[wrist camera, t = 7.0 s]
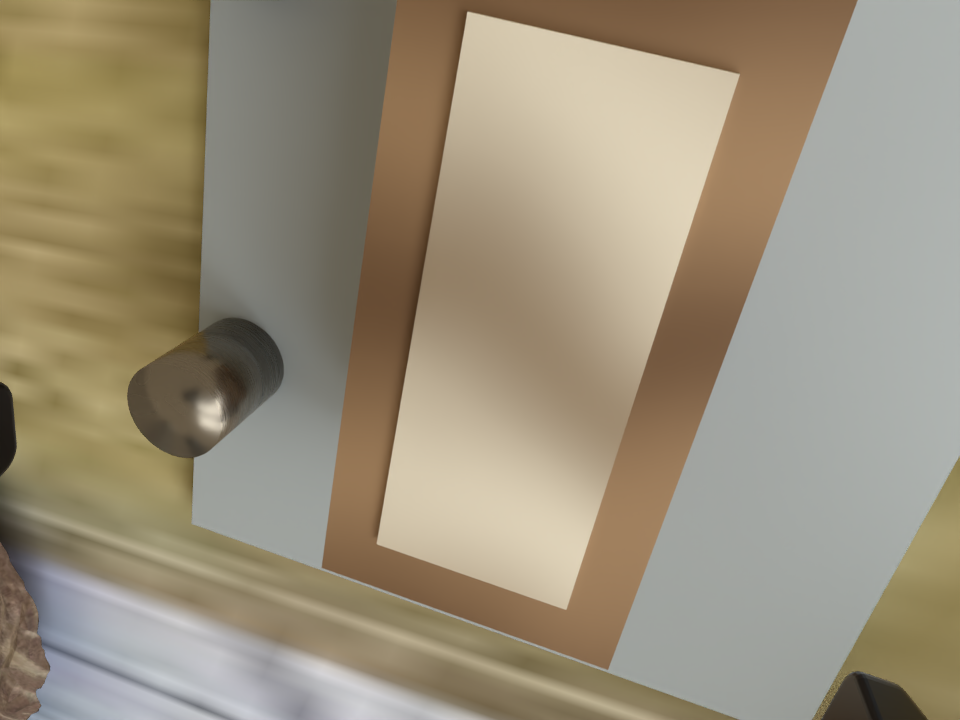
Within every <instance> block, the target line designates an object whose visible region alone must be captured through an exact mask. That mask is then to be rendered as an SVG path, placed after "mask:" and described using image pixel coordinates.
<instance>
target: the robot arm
mask: <svg viewBox="0 0 960 720" xmlns="http://www.w3.org/2000/svg"><path fill="white" fill-rule="evenodd" d="M16 448H17V443H16V431H15V420H14V409H13V398H12V393H11V392H10V390H9V388H8V387H7V386H6V385H5V384H3V383H2V382H0V476H1V475H2V474H3V473H4V472H5V471H6V470H7V469H8V467H9V466H10V464H11V463H12V461H13V459H14V456H15V453H16ZM821 720H928V719H927V718H926V716H925V715H924V714H923V713H922V711H921V710H920V709H919V708H918V706H917V705H916V704H915V703H914V701H913V700H912V699H911V698H910V696H909V695H908V694H907V693H906V692H905V691H904V690H903V689H902V688H901V687H900V686H899V685H897V684H895V683H893V682H890V681H887V680H884V679H881V678H878V677H875V676H872V675H869V674H866V673H863V672H859V671H857V672H852V673H850V674H849V675H848V676H847V677H846V678H845V679H844V681H843V682H842V684H841V686H840V687H839V689H838V691H837V693H836V694H835V696H834V698H833V700H832V702H831V703H830V705H829V707H828V709H827V710H826V712H825V714H824V716H823V717H822V719H821Z"/></svg>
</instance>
